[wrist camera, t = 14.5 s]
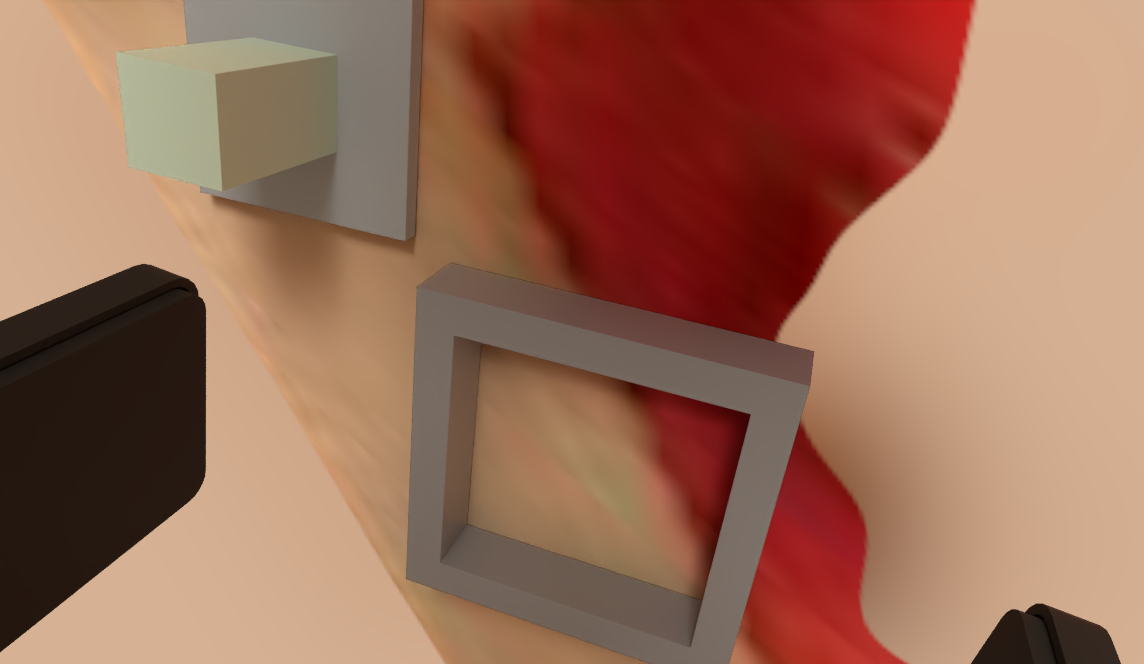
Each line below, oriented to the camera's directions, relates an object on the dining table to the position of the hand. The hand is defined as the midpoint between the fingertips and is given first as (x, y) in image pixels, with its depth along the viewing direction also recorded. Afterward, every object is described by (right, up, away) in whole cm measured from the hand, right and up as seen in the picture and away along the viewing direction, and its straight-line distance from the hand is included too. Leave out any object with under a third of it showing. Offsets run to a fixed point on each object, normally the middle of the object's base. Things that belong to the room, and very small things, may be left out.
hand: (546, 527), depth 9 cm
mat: (-13, +14, +30) cm, 35 cm away
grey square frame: (+2, -4, +33) cm, 33 cm away
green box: (-13, +13, +29) cm, 34 cm away
